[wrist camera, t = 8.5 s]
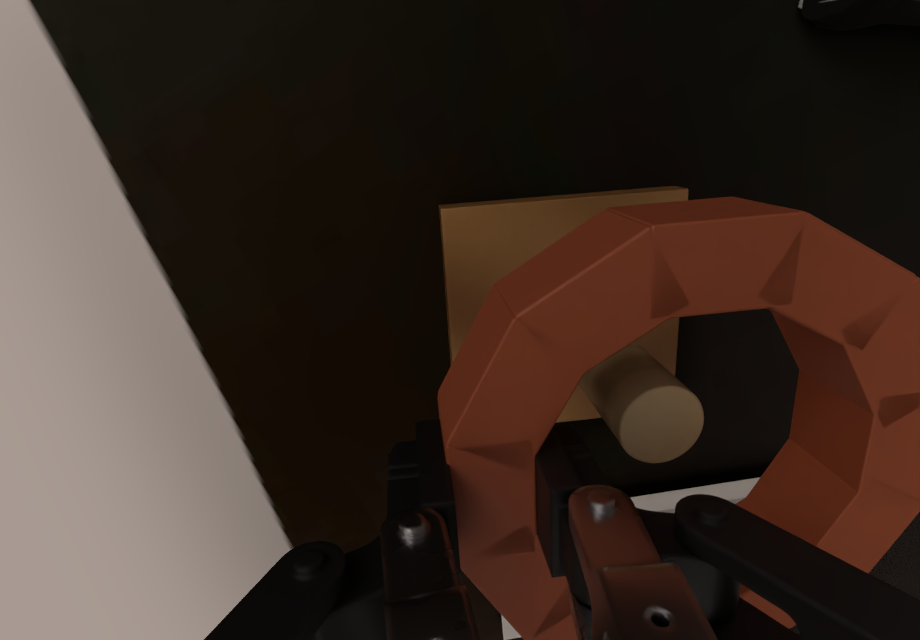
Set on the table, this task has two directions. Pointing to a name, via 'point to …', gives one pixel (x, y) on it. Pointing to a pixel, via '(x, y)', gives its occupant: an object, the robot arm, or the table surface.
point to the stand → (614, 380)
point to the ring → (646, 307)
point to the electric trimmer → (860, 13)
